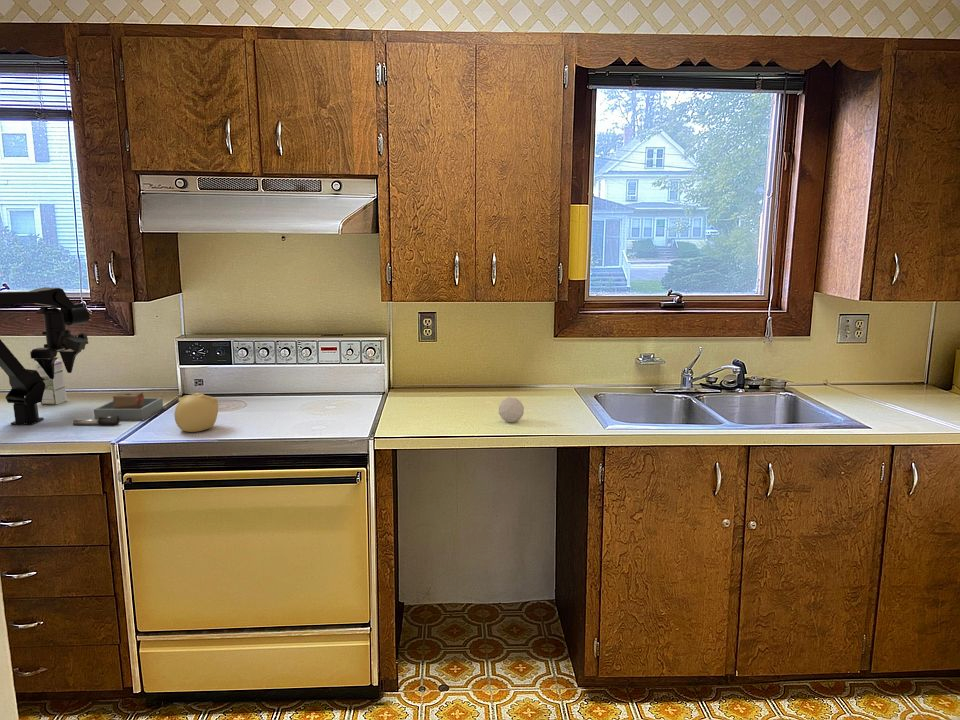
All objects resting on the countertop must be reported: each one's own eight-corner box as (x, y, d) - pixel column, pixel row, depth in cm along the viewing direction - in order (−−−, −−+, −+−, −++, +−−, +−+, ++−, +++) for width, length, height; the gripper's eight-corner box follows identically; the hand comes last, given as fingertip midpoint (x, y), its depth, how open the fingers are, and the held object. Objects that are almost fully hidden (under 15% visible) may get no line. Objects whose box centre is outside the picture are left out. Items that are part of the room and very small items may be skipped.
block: (137, 414, 221) (135, 395, 220) (114, 414, 221) (112, 396, 220) (145, 410, 226) (143, 392, 225) (122, 410, 226) (121, 392, 225)
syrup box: (67, 400, 241) (62, 359, 238) (55, 405, 235) (50, 362, 232) (52, 400, 241) (47, 359, 239) (39, 404, 236) (34, 362, 233)
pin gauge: (119, 423, 213) (118, 415, 213) (115, 425, 211) (114, 417, 210) (76, 423, 213) (75, 415, 213) (72, 426, 210) (71, 417, 210)
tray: (142, 420, 216) (141, 409, 216) (95, 420, 216) (93, 409, 216) (163, 408, 231) (162, 397, 230) (118, 408, 231) (117, 398, 230)
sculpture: (224, 423, 213) (221, 389, 211) (209, 435, 201) (206, 398, 199) (186, 423, 213) (183, 389, 211) (169, 435, 201) (166, 398, 199)
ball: (517, 431, 214) (527, 414, 209) (493, 423, 213) (503, 406, 208) (519, 413, 220) (529, 397, 215) (495, 405, 219) (505, 388, 214)
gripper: (62, 331, 212) (68, 382, 215) (97, 323, 230) (102, 370, 233) (26, 331, 212) (32, 382, 215) (63, 323, 230) (69, 369, 233)
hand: (61, 375), depth 224 cm, fingers open, 9 cm apart
